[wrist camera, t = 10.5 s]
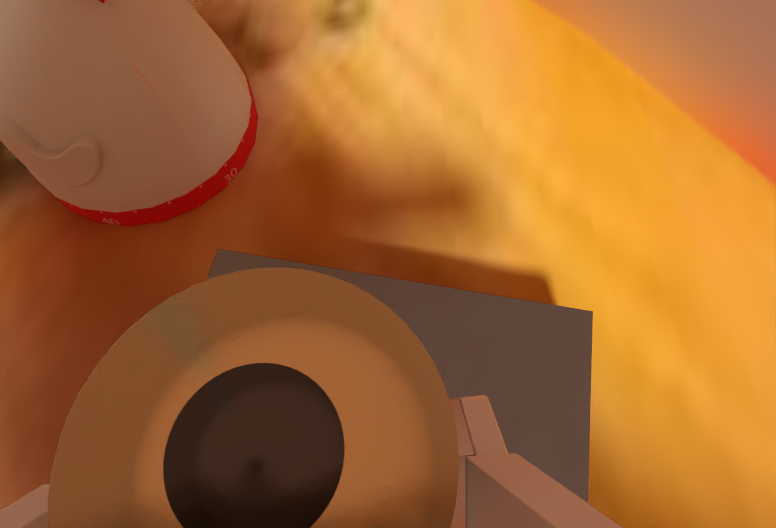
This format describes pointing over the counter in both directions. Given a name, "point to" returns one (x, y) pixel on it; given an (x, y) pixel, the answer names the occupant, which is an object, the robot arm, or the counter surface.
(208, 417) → the bushing
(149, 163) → the kitchen timer
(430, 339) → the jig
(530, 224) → the counter surface
